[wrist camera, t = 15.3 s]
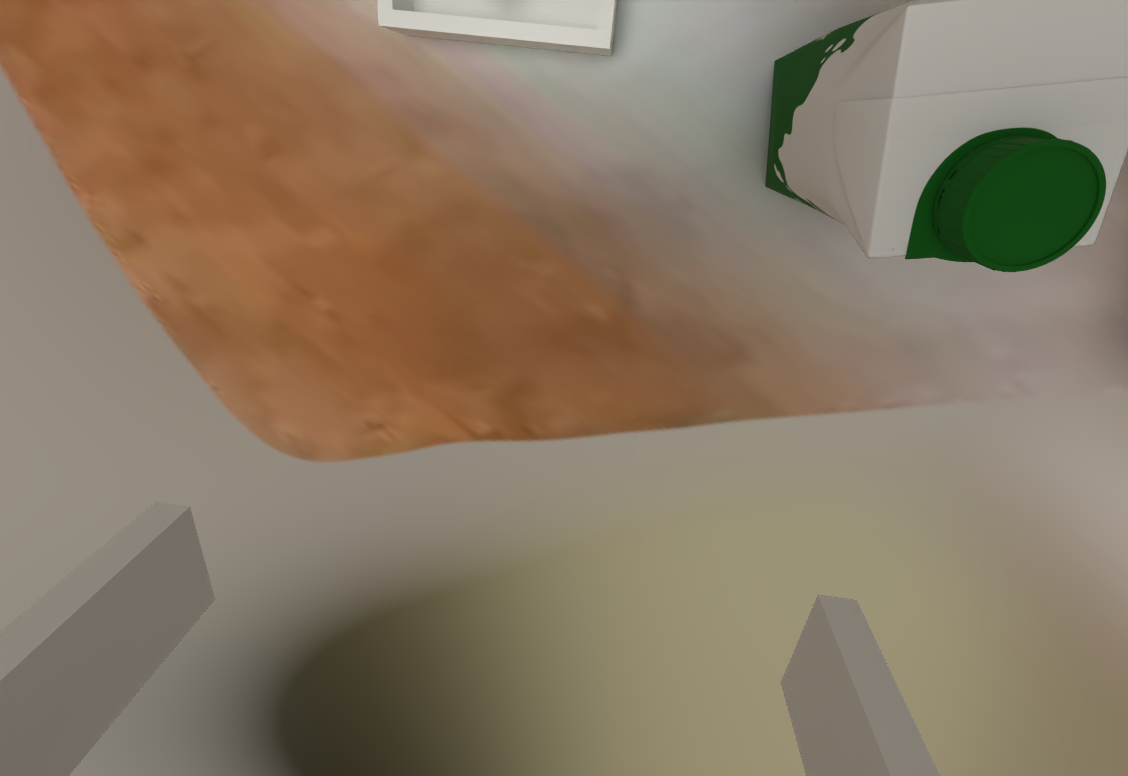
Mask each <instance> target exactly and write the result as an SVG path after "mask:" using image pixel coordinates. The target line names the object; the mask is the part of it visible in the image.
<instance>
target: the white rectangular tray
mask: <svg viewBox="0 0 1128 776" xmlns="http://www.w3.org/2000/svg"><path fill="white" fill-rule="evenodd" d="M377 1H378V21H379V26H381V27H384V28H387V29H390V30H393V31H396V32H399V33H402V34H405V35H409V36H419V37H429V38H439V39H449V40H459V41H468V42H478V43H488V44H498V45H508V46H518V47H527V48H537V49H547V50H557V51H567V52H577V53H587V54H596V55H606V56H611V53H612V45H613V36H614V27H615V18H616V10H617V1H618V0H377Z"/></svg>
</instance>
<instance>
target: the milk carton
mask: <svg viewBox="0 0 1128 776" xmlns="http://www.w3.org/2000/svg"><path fill="white" fill-rule="evenodd" d="M1127 150H1128V0H914V1H911V2H908V3H906V4H903V5H900V6H898V7H895V8H892V9H889V10H887V11H884V12H881V13H879V14H876V15H873V16H871V17H868V18H865V19H862V20H860V21H857V22H854V23H852V24H849V25H846V26H844V27H841V28H839V29H837V30H835V31H833V32H831V33H828V34H826V35H825V36H823V37H821V38H819V39H817V40H815V41H813V42H811V43H809V44H807V45H805V46H803V47H801V48H799V49H797V50H795V51H794V52H792V53H790V54H788V55H786V56H784V57H782V58H780V59H778V60H776V61H775V66H774V80H773V93H772V107H771V121H770V135H769V148H768V162H767V176H766V187H768V188H770V189H773V190H775V191H777V192H779V193H781V194H784V195H786V196H788V197H790V198H793V199H795V200H797V201H799V202H801V203H804V204H806V205H808V206H810V207H812V208H814V209H816V210H818V211H820V212H822V213H824V214H826V215H828V216H829V217H831V218H833V219H835V220H837V221H839V222H841V223H843V224H845V225H846V227H847V228H848V230H849V231H850V233H851V234H852V236H853V237H854V238H855V240H856V241H857V243H858V244H859V246H860V247H861V249H862V250H863V252H864V253H865V254H866V256H867V257H868V258H884V257H895V256H906V257H905V259H918V258H932V257H935V258H939V259H944V260H949V261H957V262H976V263H978V264H980V265H983V266H985V267H987V268H990V269H992V270H998V271H1002V272H1016V271H1024V270H1029V269H1033V268H1037V267H1039V266H1042V265H1045V264H1047V263H1049V262H1051V261H1053V260H1055V259H1057V258H1058V257H1060V256H1062V255H1063V254H1064V253H1066V252H1067V251H1069V250H1070V249H1071V248H1072V247H1075V246H1088V245H1091V244H1093V243H1095V240H1096V238H1097V235H1098V232H1099V229H1100V227H1101V224H1102V221H1103V218H1104V215H1105V213H1106V210H1107V207H1108V204H1109V201H1110V198H1111V196H1112V193H1113V190H1114V187H1115V184H1116V181H1117V179H1118V176H1119V173H1120V170H1121V167H1122V164H1123V162H1124V159H1125V156H1126V153H1127Z"/></svg>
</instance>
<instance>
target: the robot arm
mask: <svg viewBox="0 0 1128 776" xmlns="http://www.w3.org/2000/svg"><path fill="white" fill-rule="evenodd" d="M214 600H215V597H214V593H213V589H212V585H211V582H210V578H209V574H208V571H207V567H206V563H205V560H204V556H203V553H202V549H201V545H200V542H199V538H198V534H197V530H196V527H195V523H194V519H193V516H192V513H191V508H190V506H183V505H176V504H168V503H162V502H154V503H153V504H152V505H150V507H148V508H147V509H146V510H144V511H143V512H142V513H141V514H140V515H139V516H138V517H136V518H135V519H134V520H133V521H132V522H130V523H129V524H128V525H127V526H125V527H124V528H123V529H122V530H121V531H120V532H118V533H117V534H116V535H115V536H114V537H112V538H111V539H110V540H109V541H108V542H106V543H105V544H104V545H103V546H102V547H100V548H99V549H98V550H97V551H96V552H95V553H93V554H92V555H91V556H90V557H89V558H87V559H86V560H85V561H84V562H83V563H81V564H80V565H79V566H78V567H77V568H76V569H74V570H73V571H72V572H71V573H70V574H68V575H67V576H66V577H65V578H64V579H62V580H61V581H60V582H59V583H58V584H56V585H55V586H54V587H53V588H52V589H51V590H49V591H48V592H47V593H46V594H45V595H43V596H42V597H41V598H40V599H39V600H38V601H36V602H35V603H34V604H33V605H31V606H30V607H29V608H28V609H27V610H26V611H24V612H23V613H22V614H21V615H20V616H18V617H17V618H16V619H15V620H14V621H12V622H11V623H10V624H9V625H8V626H6V627H5V628H4V629H3V630H2V631H1V632H0V776H69V775H70V774H71V772H72V771H73V770H74V769H75V768H76V766H77V765H78V764H79V763H80V762H81V760H82V759H83V758H84V757H85V756H86V754H87V753H88V752H89V751H90V749H91V748H92V747H93V746H94V745H95V743H96V742H97V741H98V740H99V739H100V737H101V736H102V735H103V734H104V733H105V731H106V730H107V729H108V728H109V727H110V725H111V724H112V723H113V722H114V721H115V719H116V718H117V717H118V716H119V715H120V713H121V712H122V711H123V710H124V709H125V707H126V706H127V705H128V704H129V702H130V701H131V700H132V699H133V698H134V697H135V695H136V694H137V693H138V692H139V691H140V689H141V688H142V687H143V686H144V684H145V683H146V682H147V681H148V680H149V678H150V677H151V676H152V675H153V674H154V672H155V671H156V670H157V669H158V668H159V666H160V665H161V664H162V663H163V662H164V660H165V659H166V658H167V656H168V655H169V654H170V653H171V652H172V651H173V650H174V648H175V647H176V646H177V645H178V644H179V642H180V641H181V640H182V639H183V638H184V636H185V635H186V634H187V633H188V632H189V630H190V629H191V628H192V627H193V625H194V624H195V623H196V622H197V621H198V619H199V618H200V617H201V616H202V615H203V613H204V612H205V611H206V610H207V609H208V607H209V606H210V605H211V604H212V603H213V601H214ZM781 685H782V689H783V692H784V696H785V700H786V703H787V706H788V711H789V714H790V718H791V721H792V725H793V728H794V732H795V736H796V740H797V743H798V747H799V751H800V754H801V758H802V762H803V765H804V769H805V773H806V776H940V774H939V772H938V770H937V768H936V766H935V764H934V762H933V760H932V758H931V756H930V753H929V751H928V749H927V747H926V745H925V743H924V741H923V739H922V737H921V734H920V732H919V730H918V728H917V726H916V724H915V722H914V720H913V718H912V716H911V714H910V711H909V709H908V707H907V705H906V703H905V701H904V699H903V697H902V695H901V692H900V690H899V688H898V686H897V684H896V682H895V680H894V678H893V676H892V674H891V671H890V670H889V667H888V665H887V663H886V661H885V659H884V657H883V655H882V653H881V650H880V648H879V646H878V644H877V642H876V640H875V638H874V636H873V634H872V631H871V629H870V627H869V625H868V623H867V621H866V619H865V617H864V614H863V613H862V611H861V608H860V606H859V604H858V602H857V600H853V599H846V598H838V597H832V596H825V595H818V596H817V598H816V601H815V603H814V605H813V608H812V610H811V612H810V615H809V617H808V620H807V622H806V625H805V627H804V629H803V631H802V634H801V636H800V639H799V641H798V643H797V645H796V648H795V651H794V653H793V655H792V657H791V660H790V662H789V664H788V667H787V669H786V671H785V674H784V676H783V679H782V681H781Z"/></svg>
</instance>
